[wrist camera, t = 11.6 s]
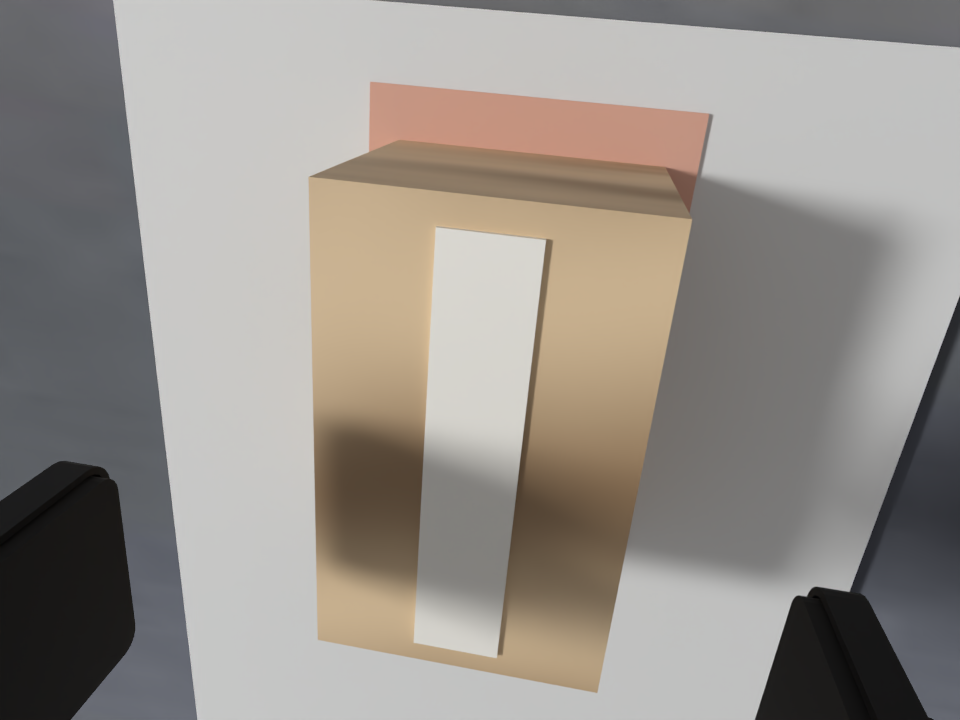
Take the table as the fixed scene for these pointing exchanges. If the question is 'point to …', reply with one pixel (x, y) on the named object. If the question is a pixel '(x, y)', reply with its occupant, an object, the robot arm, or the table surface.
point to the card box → (484, 398)
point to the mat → (690, 349)
